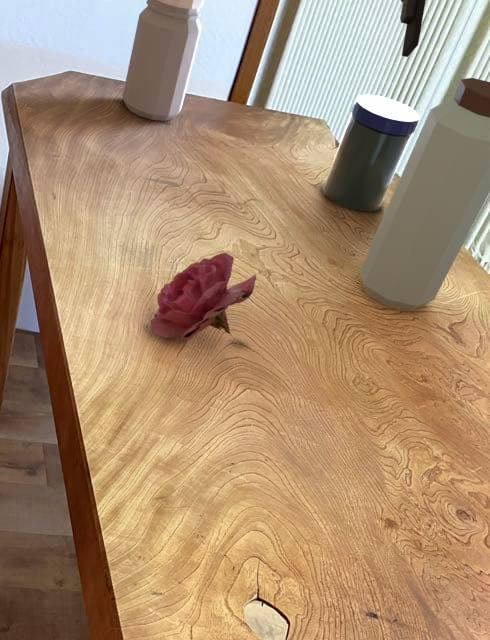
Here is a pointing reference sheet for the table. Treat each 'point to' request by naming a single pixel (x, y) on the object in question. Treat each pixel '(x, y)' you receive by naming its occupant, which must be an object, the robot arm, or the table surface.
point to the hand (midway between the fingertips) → (464, 63)
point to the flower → (199, 299)
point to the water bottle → (433, 202)
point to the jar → (162, 58)
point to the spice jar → (364, 166)
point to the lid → (385, 115)
